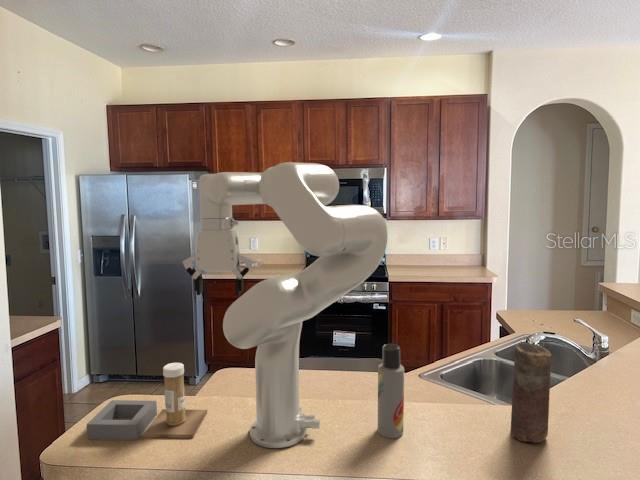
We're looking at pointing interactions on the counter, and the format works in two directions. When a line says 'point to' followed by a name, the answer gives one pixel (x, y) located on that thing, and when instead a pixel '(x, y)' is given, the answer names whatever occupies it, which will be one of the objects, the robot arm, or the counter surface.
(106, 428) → the grey square tray
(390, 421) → the lotion bottle
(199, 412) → the coaster board
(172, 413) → the sprinkles bottle
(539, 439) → the candle
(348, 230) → the robot arm
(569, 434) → the counter surface
